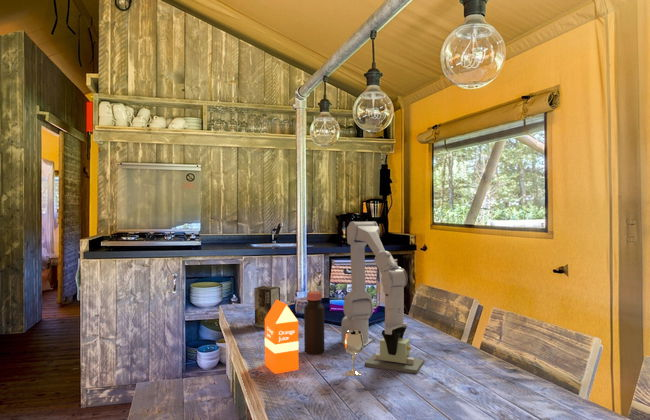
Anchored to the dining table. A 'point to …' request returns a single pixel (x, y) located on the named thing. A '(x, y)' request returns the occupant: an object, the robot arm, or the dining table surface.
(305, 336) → the bottle
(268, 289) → the coffee box
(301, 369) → the dining table surface
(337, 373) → the dining table surface
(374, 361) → the cleat board
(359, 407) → the dining table surface
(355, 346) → the wineglass
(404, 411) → the dining table surface
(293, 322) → the orange juice
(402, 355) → the cabinet block
